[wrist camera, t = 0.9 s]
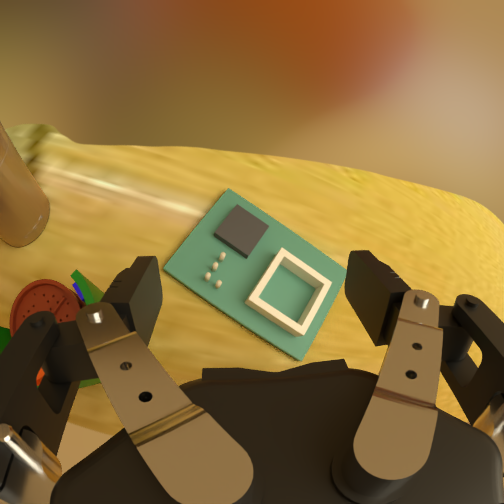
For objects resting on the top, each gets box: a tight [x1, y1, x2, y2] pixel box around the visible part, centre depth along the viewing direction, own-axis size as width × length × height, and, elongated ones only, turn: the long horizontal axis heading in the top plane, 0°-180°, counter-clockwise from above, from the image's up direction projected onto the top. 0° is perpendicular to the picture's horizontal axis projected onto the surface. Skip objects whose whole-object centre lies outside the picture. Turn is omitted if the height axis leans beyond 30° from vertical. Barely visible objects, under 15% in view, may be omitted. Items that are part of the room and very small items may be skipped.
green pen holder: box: [0, 269, 104, 388], centre depth 21 cm, size 10×9×20 cm
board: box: [163, 188, 347, 361], centre depth 36 cm, size 20×14×4 cm
